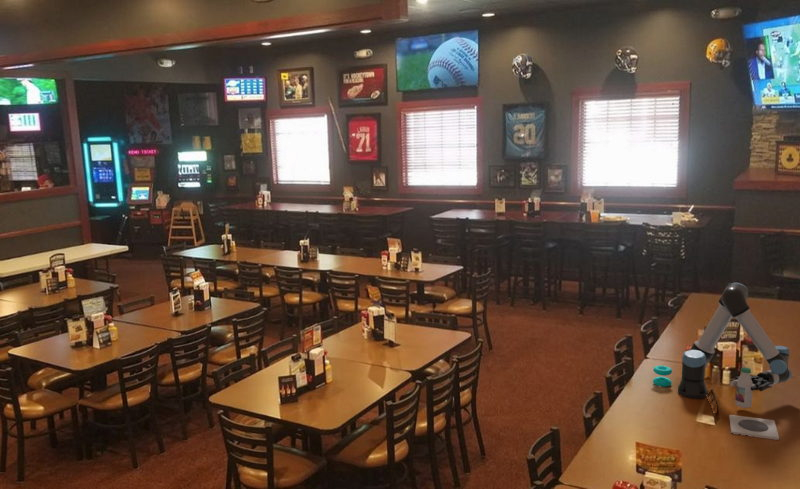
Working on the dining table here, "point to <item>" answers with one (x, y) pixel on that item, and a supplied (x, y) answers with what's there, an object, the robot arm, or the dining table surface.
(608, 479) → the dining table surface
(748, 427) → the board
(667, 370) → the donuts
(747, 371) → the milk bottle
